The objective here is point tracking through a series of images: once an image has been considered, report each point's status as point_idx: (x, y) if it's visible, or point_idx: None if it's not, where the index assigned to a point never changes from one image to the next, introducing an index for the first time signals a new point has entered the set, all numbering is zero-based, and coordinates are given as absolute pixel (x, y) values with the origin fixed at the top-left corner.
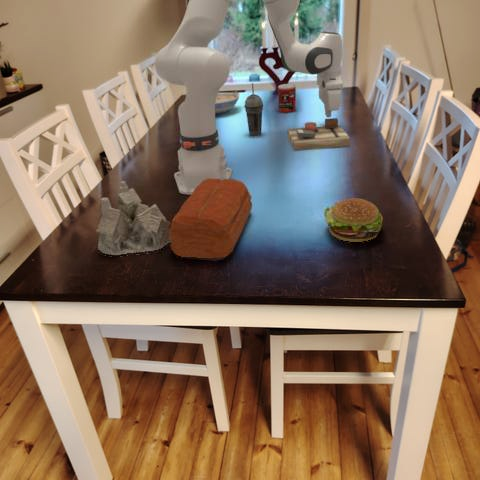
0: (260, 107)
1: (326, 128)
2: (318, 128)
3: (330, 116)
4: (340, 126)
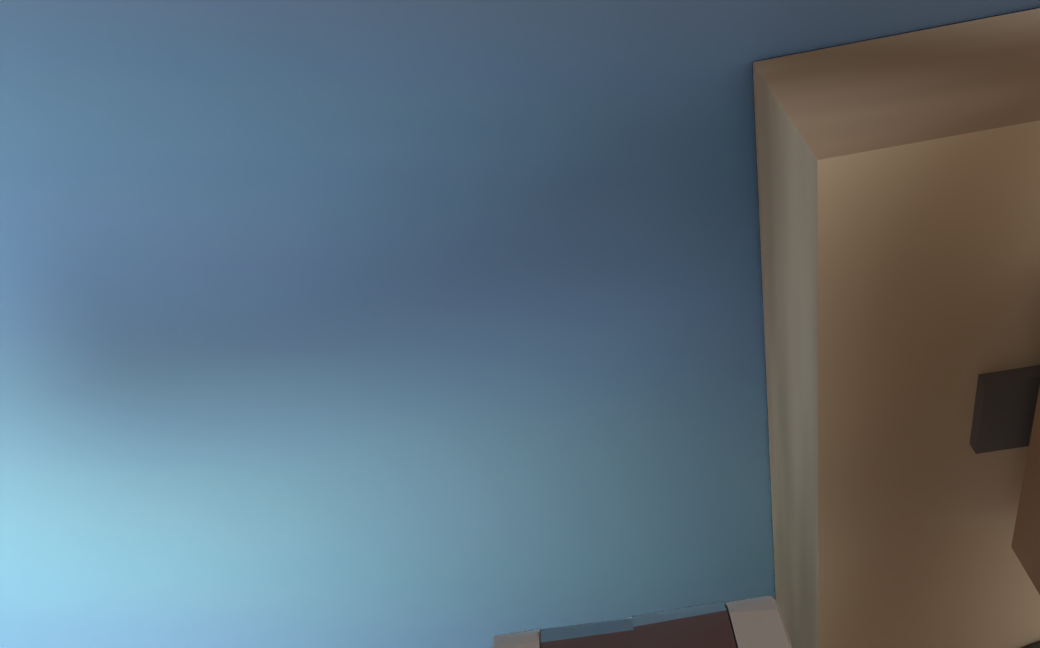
0: None
1: None
2: (963, 622)
3: (781, 614)
4: (1001, 133)
